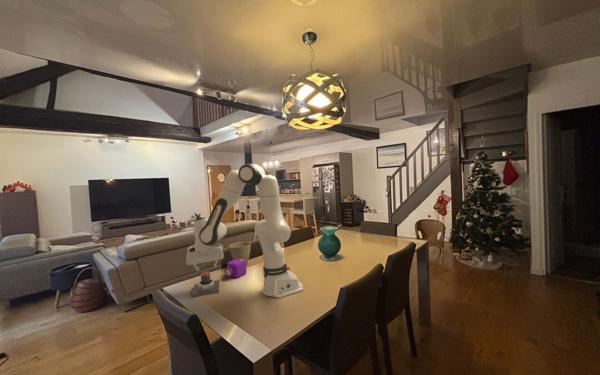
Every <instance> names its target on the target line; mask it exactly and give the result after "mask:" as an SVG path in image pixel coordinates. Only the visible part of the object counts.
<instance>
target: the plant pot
mask: <svg viewBox="0 0 600 375" xmlns="http://www.w3.org/2000/svg"><path fill="white" fill-rule="evenodd" d="M251 244H252V242H249V241H240V242H235V243H231V244H229V249H230V254H231V257H232V260H235V259H243V260H245V261H246V267H248V264H249V259H250V255H251V247H252V246H251Z"/></svg>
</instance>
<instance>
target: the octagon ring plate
mask: <svg viewBox="0 0 600 375" xmlns="http://www.w3.org/2000/svg"><path fill="white" fill-rule="evenodd" d="M219 292H220V279H218V280H215V279H214V278H211V277H210V283H208V284H201V280H199V281H197V283H194V285H193V288H192V292H191V298H195V297H200V296H206V295H211V294H217V293H219Z"/></svg>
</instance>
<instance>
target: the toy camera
mask: <svg viewBox="0 0 600 375" xmlns="http://www.w3.org/2000/svg"><path fill="white" fill-rule="evenodd" d="M246 274H247V266H246V261H245V260H243V259H235V260H233V259H232V260H229V261H228V262H227V263H226V267H225V268H224V275H225V276H226V277H227V278H234V279H239V278H241V277H243V276H244V275H246Z"/></svg>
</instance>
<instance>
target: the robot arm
mask: <svg viewBox="0 0 600 375" xmlns="http://www.w3.org/2000/svg"><path fill="white" fill-rule="evenodd" d="M246 185H250V186H256V187H257V189H258V196H259V197H258V198H259V201H258V202H259V210H260V212H261V214H262V215H263V217H264V219H262V220H258V221H257V222H256V223H255V226H254V233H255V235H256V236H257V238H258V240H259V244H260V247H261V251H262V255H263V256H262V258H263V266H262V267H263V269H262V272H263V273H262V274H263V285H262V286H263V288H262V294H263V295H264V296H267V297H274V298H276V299H280V298H284V297H287V296H289V295H293V294H297V293H300V292H303V291H304V285H303V283H302V282H301V281H300V280H299V278H298V276H297V275H296V274H295V273H294V272H292V271H290V269H291V266H289V265H288V264H286V263H285V260H284V259H285V258H284V249H283V247H282V246H281V245H280V243H285V242H287V241H288V240H289V239H290V237H291V235H292V234H291V233H292V230H291V227H290V226H289V225H288V224H287V222H286V220H285V218H284V215H283V212H282V208H281V199H280V198H281V197H280V187H279V183H278V179H277V177H276V176H274V175H271V174H267V171H266V168H265V167H263V166H262V165H260V164H257V163H244V164H242V165H241V166H240V168H239V169H233V170H230V171H229V172H228V174H227V175H226V178H225V179H224V181H223V183H222V186H221V189H220V192H219V195H218V197H217V199H216V201H215V204H214V206H213V208H212V209H211V212H210V214H209V217H207V216H206V217H202V218H197V219H196V220H195V221H194V222H193V235H194V238H195V241H194V244H191V245H190V246H188V247H187V250H186V252H187V253H186V256H185V261H186V262H185V263H186V265H187V266H191V265H193V267H194V268H195V271H196V272H199V271H200V267H199V266H197V265H198V264H203V263H209V262H215V263H214V264H213V269H215V268H217V265H218V263H219V260H220V261H221V260H223V259H224V257H225V255H224V245H223V244H222V243H220V242H219V243H217V242H218V241H220V240H221V239H223V238H224V237H225V236H226V235H227V234H228V233H227V232H228V228H227V225H226V224H225V223H224V222H222V220H223V217H224V215H225V214H226V212H227V211H229V210H230V209H231V208H232V207H233V206H234V205H236V204H237V203H238V201H239V200H240V198H241V196H242V193H243V190H244V187H245V186H246Z"/></svg>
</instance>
